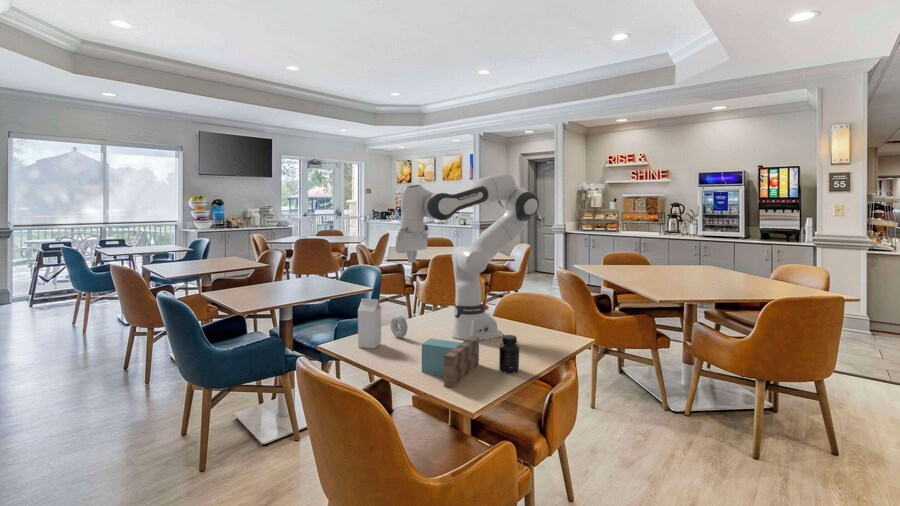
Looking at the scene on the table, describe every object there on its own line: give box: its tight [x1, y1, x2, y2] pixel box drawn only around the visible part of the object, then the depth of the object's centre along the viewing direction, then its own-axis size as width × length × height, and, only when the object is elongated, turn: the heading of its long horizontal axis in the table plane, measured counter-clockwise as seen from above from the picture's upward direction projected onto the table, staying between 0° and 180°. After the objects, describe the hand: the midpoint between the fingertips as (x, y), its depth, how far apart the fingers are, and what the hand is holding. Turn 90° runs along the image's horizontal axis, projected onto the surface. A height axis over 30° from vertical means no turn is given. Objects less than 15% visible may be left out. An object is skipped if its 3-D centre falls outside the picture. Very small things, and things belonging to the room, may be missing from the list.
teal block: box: [421, 338, 462, 377], centre depth 159 cm, size 12×7×10 cm, turn 67°
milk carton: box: [357, 298, 382, 349], centre depth 186 cm, size 7×7×19 cm
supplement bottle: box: [498, 334, 520, 374], centre depth 161 cm, size 7×7×12 cm
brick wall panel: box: [443, 336, 480, 389], centre depth 156 cm, size 24×3×10 cm, turn 157°
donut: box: [390, 314, 409, 339], centre depth 199 cm, size 10×4×10 cm, turn 43°
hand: (411, 262), depth 182 cm, fingers closed
